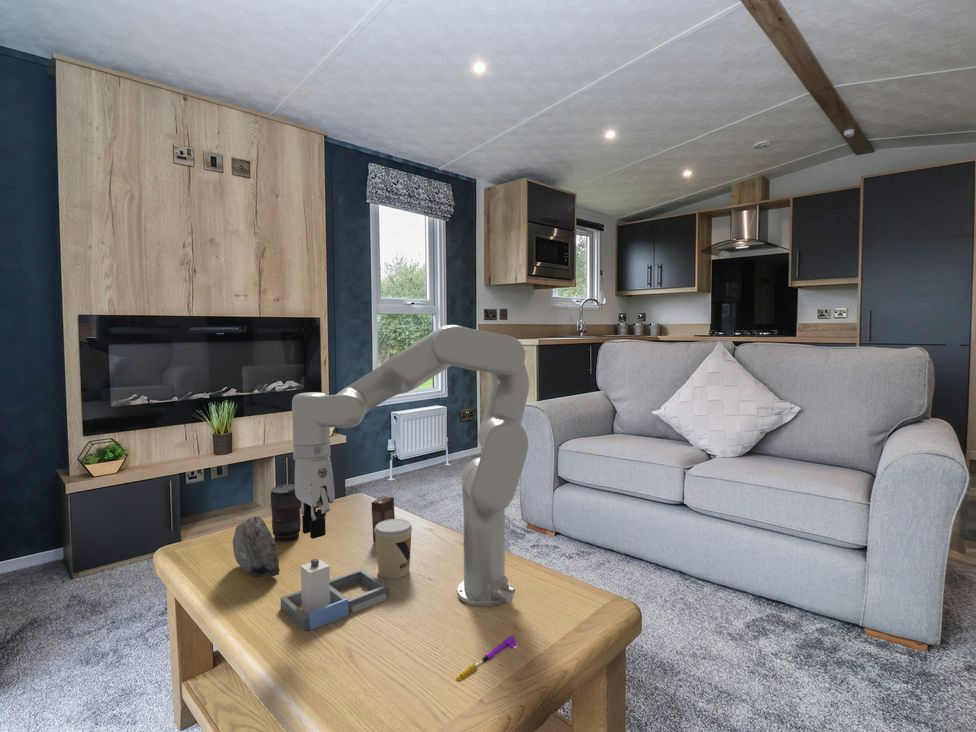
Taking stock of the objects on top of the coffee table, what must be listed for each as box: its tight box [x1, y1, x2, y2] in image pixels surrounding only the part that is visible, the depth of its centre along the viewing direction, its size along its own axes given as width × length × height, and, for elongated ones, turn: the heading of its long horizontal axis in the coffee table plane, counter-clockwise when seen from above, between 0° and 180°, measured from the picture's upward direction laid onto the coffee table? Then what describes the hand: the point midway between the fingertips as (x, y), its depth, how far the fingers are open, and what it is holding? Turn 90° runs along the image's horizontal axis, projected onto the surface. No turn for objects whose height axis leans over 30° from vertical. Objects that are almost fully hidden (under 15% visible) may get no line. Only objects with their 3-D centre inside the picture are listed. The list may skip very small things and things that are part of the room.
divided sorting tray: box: [280, 568, 390, 632], centre depth 117 cm, size 13×20×4 cm, turn 133°
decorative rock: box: [232, 516, 280, 577], centre depth 131 cm, size 16×7×15 cm, turn 44°
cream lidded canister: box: [374, 518, 413, 579], centre depth 132 cm, size 9×9×12 cm
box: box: [370, 495, 396, 544], centre depth 152 cm, size 6×4×12 cm
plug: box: [300, 558, 331, 615], centre depth 114 cm, size 4×4×11 cm
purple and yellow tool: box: [455, 635, 519, 682], centre depth 97 cm, size 3×1×16 cm
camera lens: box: [270, 483, 302, 543], centre depth 154 cm, size 8×8×15 cm
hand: (314, 533), depth 113 cm, fingers open, 3 cm apart
